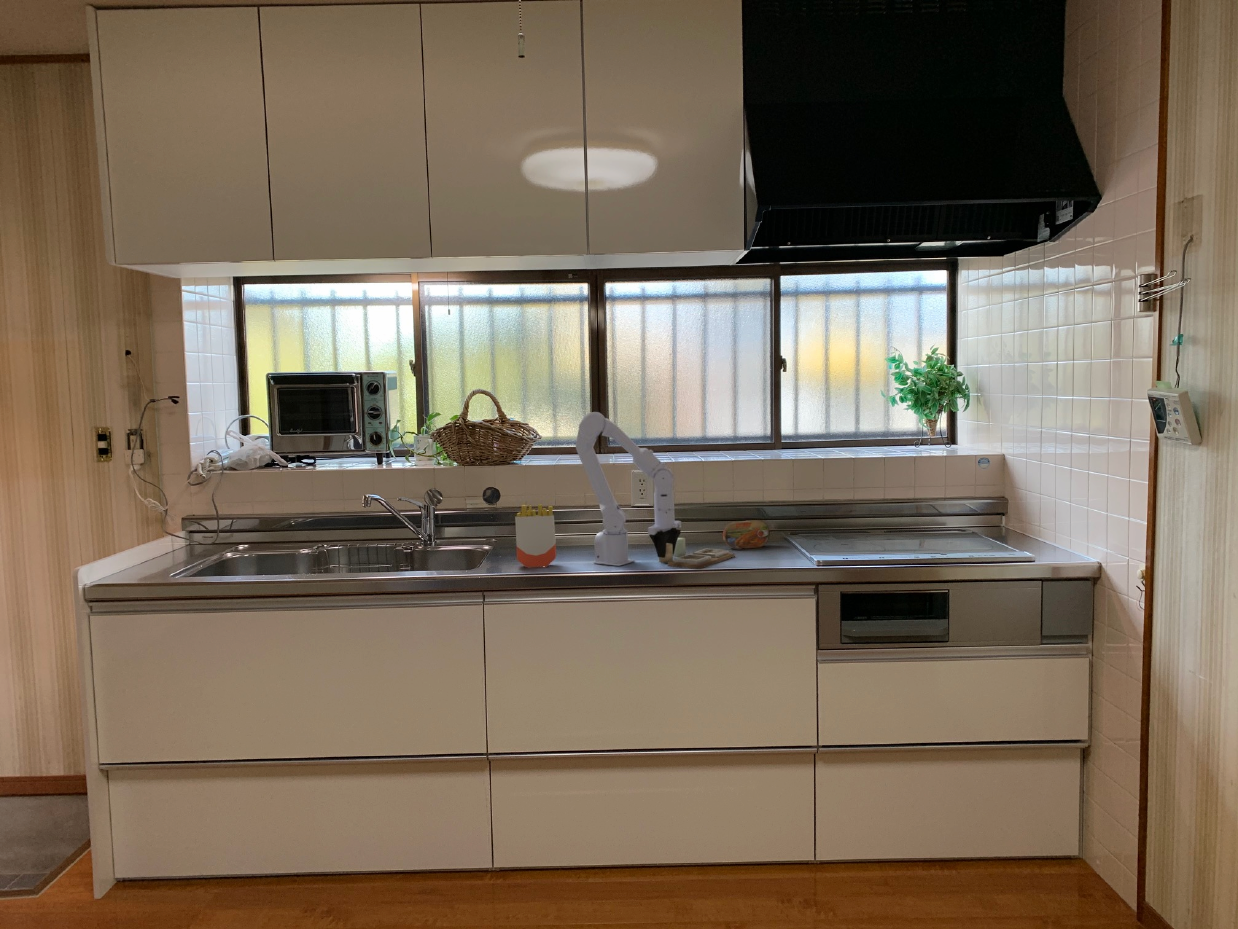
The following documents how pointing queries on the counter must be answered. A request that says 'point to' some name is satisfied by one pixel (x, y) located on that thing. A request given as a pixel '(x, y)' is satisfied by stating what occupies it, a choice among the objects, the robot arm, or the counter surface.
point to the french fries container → (535, 537)
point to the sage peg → (680, 547)
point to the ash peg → (667, 554)
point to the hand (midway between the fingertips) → (665, 555)
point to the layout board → (701, 558)
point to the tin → (746, 534)
